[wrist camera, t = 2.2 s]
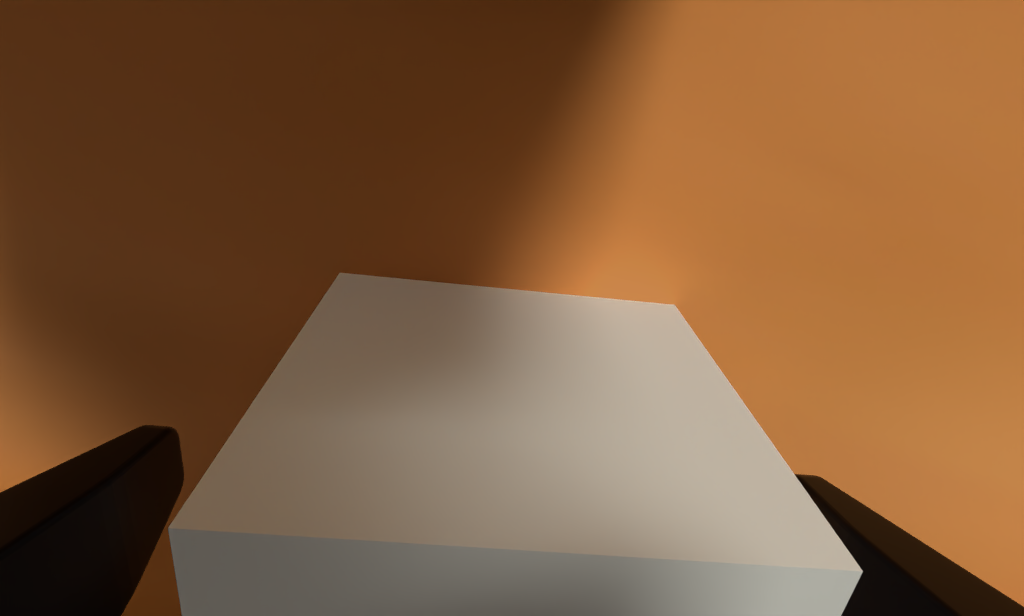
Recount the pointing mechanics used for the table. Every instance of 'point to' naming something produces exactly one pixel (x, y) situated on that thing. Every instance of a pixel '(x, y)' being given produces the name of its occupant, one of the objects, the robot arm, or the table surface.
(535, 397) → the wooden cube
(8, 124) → the table surface
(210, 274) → the table surface
